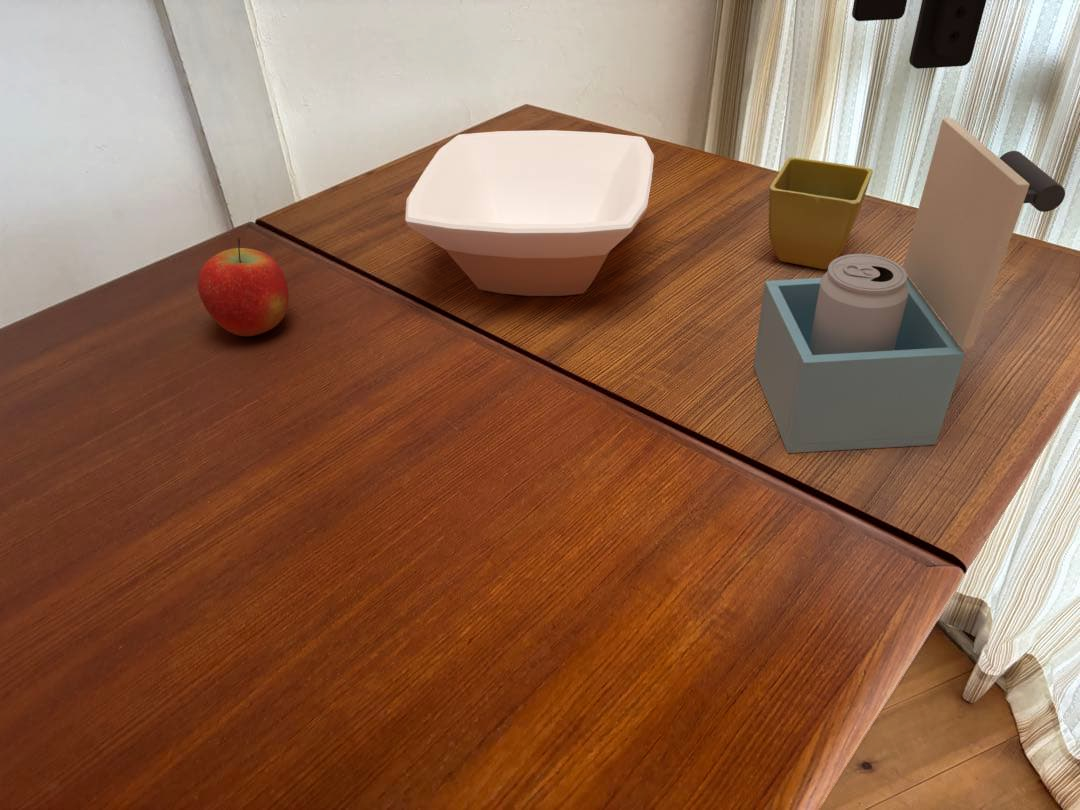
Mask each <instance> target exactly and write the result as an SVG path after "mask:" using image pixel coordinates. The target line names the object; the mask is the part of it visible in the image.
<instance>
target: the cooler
mask: <svg viewBox="0 0 1080 810" xmlns="http://www.w3.org/2000/svg"><path fill="white" fill-rule="evenodd" d="M821 279H822V277H809V278H795V279H794V278H793V279H791V278H790V279H774V280H773V279H772V280H765V281H764V286H763V292H762V300H761V307H760V314H759V321H758V329H757V336H756V343H755V351H754V358H753V365H752V367H753V370H754V372H755V374H756V377H757V379H758V382H759V385H760V388H761V390H762V392H763V395H764V397H765V400H766V402H767V405H768V407H769V410H770V412H771V415H772V417H773V420H774V422H775V425H776V428H777V430H778V433H779V435H780V438H781V440H782V443H783V446H784V448H785V450H786V453H787V454H797V453H817V452H818V453H819V452H832V451H833V452H834V451H850V450H851V451H852V450H868V449H886V448H902V447H905V448H906V447H921V446H922V447H923V446H936V444H937V442H938V438H939V436H940V433H941V429H942V427H943V424H944V420H945V418H946V414H947V411H948V408H949V405H950V402H951V399H952V395H953V392H954V390H955V386H956V383H957V381H958V377H959V374H960V371H961V368H962V365H963V362H964V359H965V355H966V352H965V351H964V350H963V348H962V347H961V346H960V344H959V343H958V342H957V340H956V339H955V338H954V336H953V335H952V334H951V332H950V331H949V330H948V328H947V327H946V326H945V324H944V323H943V322H942V320H941V319H940V318H939V316H938V315H937V314H936V312H935V311H934V310H933V308H932V307H931V305H930V304H929V303H928V301H927V300H926V299H925V297H924V296H923V295H922V293H921V292H920V291H919V289H918V288H917V287H916V285H915V284H914V283H913V281H912V280H911V279H910V277H909V276H908V275H907V279H906V284H907V286H908V289H909V293H908V298H907V302H906V305H905V309H904V313H903V317H902V321H901V325H900V329H899V333H898V337H897V341H896V345H895V349H894V351H876V352H859V353H841V354H824V355H812V353H811V351H810V349H809V344H810V338H811V333H812V327H813V322H814V316H815V310H816V305H817V299H818V294H819V288H820V282H821Z"/></svg>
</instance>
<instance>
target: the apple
mask: <svg viewBox="0 0 1080 810" xmlns="http://www.w3.org/2000/svg"><path fill="white" fill-rule="evenodd" d="M240 245H241V237H240V236H238V237H237V247H234V248H229V249H225V250H222V251H220V252H218V253H216V254H215V255H213V256H211V257H210V258H209V259H208V260H207V261H206V262H205V263H204V264H203V266H202V267H201V269H200V271H199V274H198V276H197V292H198V295H199V298H200V300H201V302H202V304H203V306H204V308H205V310H206V311H207V313H208V314H209V315H210V316H211V318H212V319H213V320H214V321H215V322H216V323H217V324H218V325H219V326H220V327H221V328H223V329H224V330H226V331H227V332H229V333H231V334H233V335H236V336H240V337H253V336H257V335H258V336H259V335H261V334H264V333H267V332H269V331H270V330H273V329H274V328H275V327H277V326H278V325H279V324H280V322H281V321H282V320H283V318H284V317H285V315H286V312H287V310H288V306H289V288H288V282H287V279H286V276H285V274H284V272H283V270H282V268H281V267H280V265H279V264H278V263H277V261H276V260H275V259H274V258H272V257H271V256H270V255H268V254H267V253H265V252H263V251H260V250H257V249H253V248H246V247H241V246H240Z"/></svg>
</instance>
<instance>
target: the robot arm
mask: <svg viewBox="0 0 1080 810" xmlns="http://www.w3.org/2000/svg"><path fill="white" fill-rule="evenodd" d="M907 3H908V0H853V5H852V10H851V17H852V18H853V19H854V20H855V21H857V22H871V21H887V20H889V21H891V20H899V19H901V18H903V16H904V15H905V13H906V8H907ZM986 5H987V0H921V4H920V8H919V12H918V17H917V22H916V26H915V31H914V36H913V40H912V44H911V49H910V54H909V60H908V61H909V64H910V65H911V66H912V67H913V68H915V69H918V70H920V69H921V70H922V69H935V68H936V69H937V68H953V67H964V66H966V65H968V64H970V61H972V58H973V54H974V50H975V45H976V42H977V38H978V35H979V30H980V27H981V22H982V19H983V15H984V12H985V8H986Z"/></svg>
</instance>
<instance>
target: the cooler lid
mask: <svg viewBox="0 0 1080 810" xmlns="http://www.w3.org/2000/svg"><path fill="white" fill-rule="evenodd" d="M921 194H922V195H921V198H920V201H919V204H918V209H917V212H916V216H915V220H914V223H913V227H912V231H911V234H910V238H909V242H908V246H907V250H906V253H905V256H904V261H903V264H902V267H903V268H904V269H905V271H906V273H907V276H908V277H909V279H910V280H911V281H912V283H913V284H914V285H915V287H916V288H917V289H918V291H919V292H920V294H921V295H922V296H923V298H924V299H925V300H926V302H927V303H928V304H929V306H930V307H931V308H932V310H933V311H934V312H935V314H936V315H937V316H938V318H939V319H940V320H941V322H942V323H943V324H944V326H945V327H946V328H947V330H948V331H949V332H950V334H951V335H952V336H953V338H954V339H955V340H956V342H957V343H958V344H959V346H960V347H961V348H962V349H970V348H973V347H974V344H975V341H976V339H977V335H978V333H979V331H980V327H981V324H982V321H983V319H984V316H985V313H986V311H987V308H988V304H989V302H990V298H991V296H992V293H993V290H994V287H995V285H996V283H997V279H998V276H999V274H1000V271H1001V268H1002V264H1003V262H1004V259H1005V257H1006V253H1007V250H1008V248H1009V244H1010V242H1011V240H1012V236H1013V233H1014V230H1015V228H1016V225H1017V223H1018V219H1019V216H1020V213H1021V211H1022V209H1023V205H1024V204H1030V205H1031V206H1032V207H1033V208H1034V209H1036V210H1037V211H1038V212H1042V213H1048V212H1051V211H1053V210H1055V209H1057V208H1058V207H1059V206H1060V205H1061V204H1062V203H1063V201H1064V200H1065V198H1066V190H1065V188H1064V187H1063V185H1061V184H1060V183H1059V182H1057V180H1055V179H1053V178H1052V177H1051V176H1050V175H1049V174H1048V173H1046V172H1045V171H1044V170H1043V169H1042V168H1040V167H1039V166H1038V165H1037V164H1035V163H1034V162H1033V161H1032V160H1031V159H1029V158H1028V157H1027V156H1025V155H1024V154H1023V153H1022V152H1021V151H1018V150H1010V151H1007V152H1005V153H1003V154H1002V155H1001V156H1000V157H999V156H997V154H995V153H994V152H993V151H992V150H991V149H989V148H988V147H987V146H986V145H985V144H983V143H982V142H981V141H980V140H979V139H978V138H977V137H976V136H975V135H973V134H972V133H971V132H970V131H969V130H967V129H966V128H965V127H964V126H963V125H961V124H960V123H959V122H958V121H957V120H955V119H954V118H953V117H947V118H945V117H944V118H942V119H941V124H940V127H939V131H938V135H937V138H936V142H935V146H934V149H933V153H932V157H931V161H930V165H929V168H928V171H927V175H926V179H925V183H924V187H923V190H922V193H921Z"/></svg>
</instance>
